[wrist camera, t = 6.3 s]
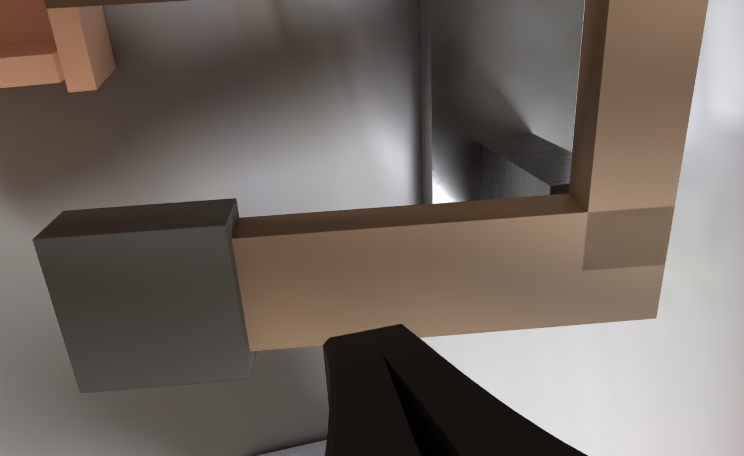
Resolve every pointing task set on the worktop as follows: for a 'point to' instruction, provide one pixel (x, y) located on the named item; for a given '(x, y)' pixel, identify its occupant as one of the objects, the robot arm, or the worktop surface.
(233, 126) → the worktop surface
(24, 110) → the worktop surface
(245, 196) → the worktop surface
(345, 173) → the worktop surface
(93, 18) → the open box
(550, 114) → the stand
